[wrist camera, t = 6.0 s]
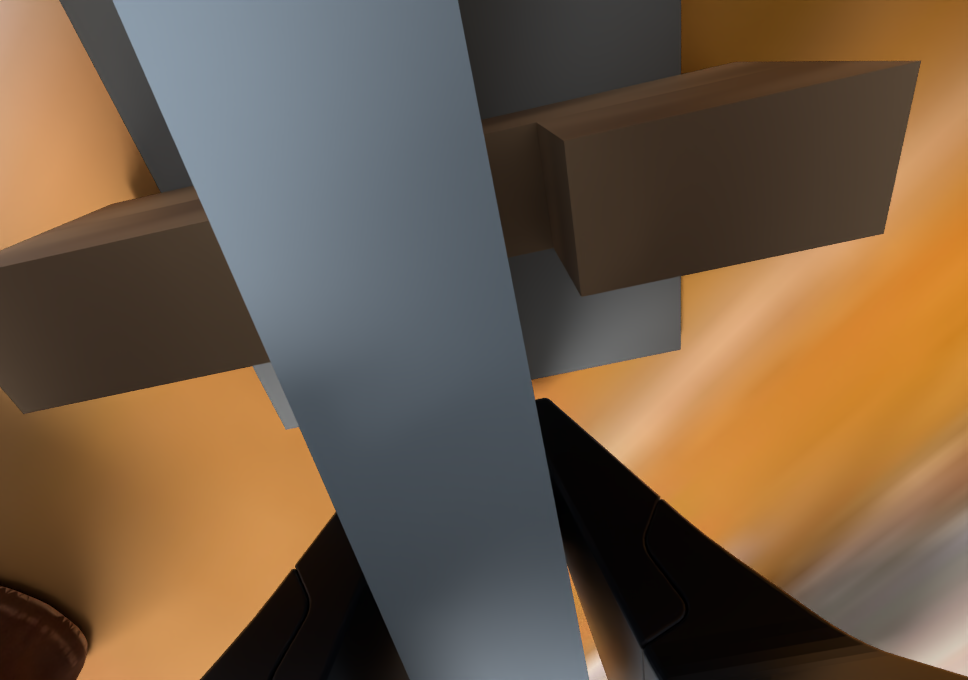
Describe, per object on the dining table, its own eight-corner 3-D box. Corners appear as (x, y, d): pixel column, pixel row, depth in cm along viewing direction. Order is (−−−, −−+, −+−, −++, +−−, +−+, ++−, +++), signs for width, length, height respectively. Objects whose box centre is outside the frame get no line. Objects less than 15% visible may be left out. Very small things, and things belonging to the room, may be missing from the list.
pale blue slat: (259, -198, 7) (-509, -1419, 1) (396, -234, 7) (133, -1684, 1) (454, 467, 12) (448, 765, 6) (535, 451, 12) (600, 739, 6)
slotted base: (737, -243, 7) (1060, -586, 3) (713, 333, 12) (835, 456, 8) (-18, -50, 8) (-470, -161, 4) (253, 427, 13) (169, 583, 9)
